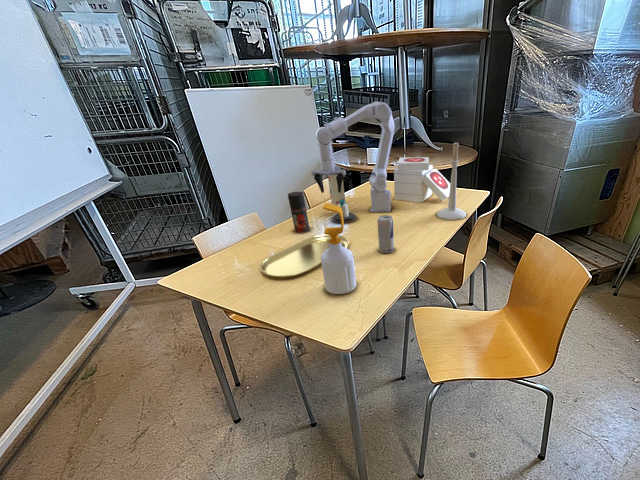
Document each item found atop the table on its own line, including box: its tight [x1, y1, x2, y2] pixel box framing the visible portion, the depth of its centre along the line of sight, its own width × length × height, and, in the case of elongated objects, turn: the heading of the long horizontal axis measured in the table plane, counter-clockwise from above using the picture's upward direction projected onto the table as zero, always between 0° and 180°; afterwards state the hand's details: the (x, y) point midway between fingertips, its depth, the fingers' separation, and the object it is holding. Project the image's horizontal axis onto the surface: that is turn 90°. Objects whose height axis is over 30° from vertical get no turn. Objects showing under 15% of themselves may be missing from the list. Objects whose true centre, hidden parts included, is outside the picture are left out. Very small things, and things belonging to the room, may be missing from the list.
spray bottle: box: [333, 198, 355, 221], centre depth 146 cm, size 9×9×8 cm
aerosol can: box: [327, 161, 346, 206], centre depth 160 cm, size 7×7×20 cm
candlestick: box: [436, 142, 467, 221], centre depth 142 cm, size 13×13×30 cm
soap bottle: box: [321, 202, 357, 295], centre depth 92 cm, size 9×9×25 cm
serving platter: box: [259, 234, 350, 279], centre depth 116 cm, size 19×35×2 cm, turn 148°
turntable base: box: [331, 213, 358, 225], centre depth 148 cm, size 11×11×1 cm
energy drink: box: [376, 214, 395, 254], centre depth 117 cm, size 5×5×12 cm
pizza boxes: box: [393, 156, 451, 203], centre depth 168 cm, size 19×30×18 cm, turn 65°
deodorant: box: [287, 191, 311, 234], centre depth 134 cm, size 6×6×15 cm
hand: (331, 192), depth 148 cm, fingers open, 7 cm apart
